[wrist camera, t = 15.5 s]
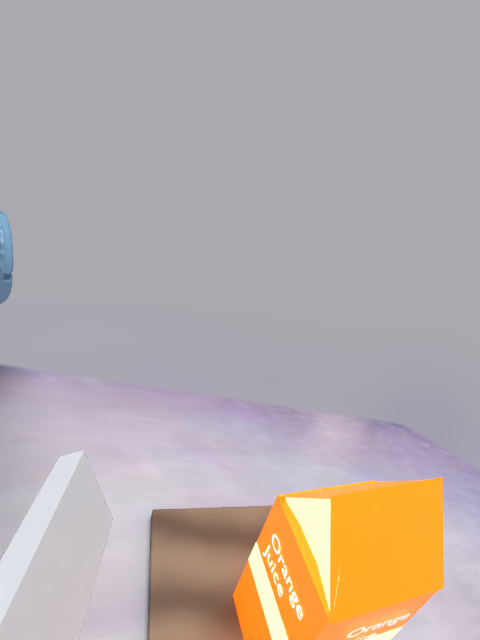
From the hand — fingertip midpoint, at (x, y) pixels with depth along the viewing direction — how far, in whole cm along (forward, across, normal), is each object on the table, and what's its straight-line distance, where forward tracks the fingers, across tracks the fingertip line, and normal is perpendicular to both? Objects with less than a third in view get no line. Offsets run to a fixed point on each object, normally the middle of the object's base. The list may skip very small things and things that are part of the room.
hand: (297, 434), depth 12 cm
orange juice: (+12, -2, -28) cm, 31 cm away
